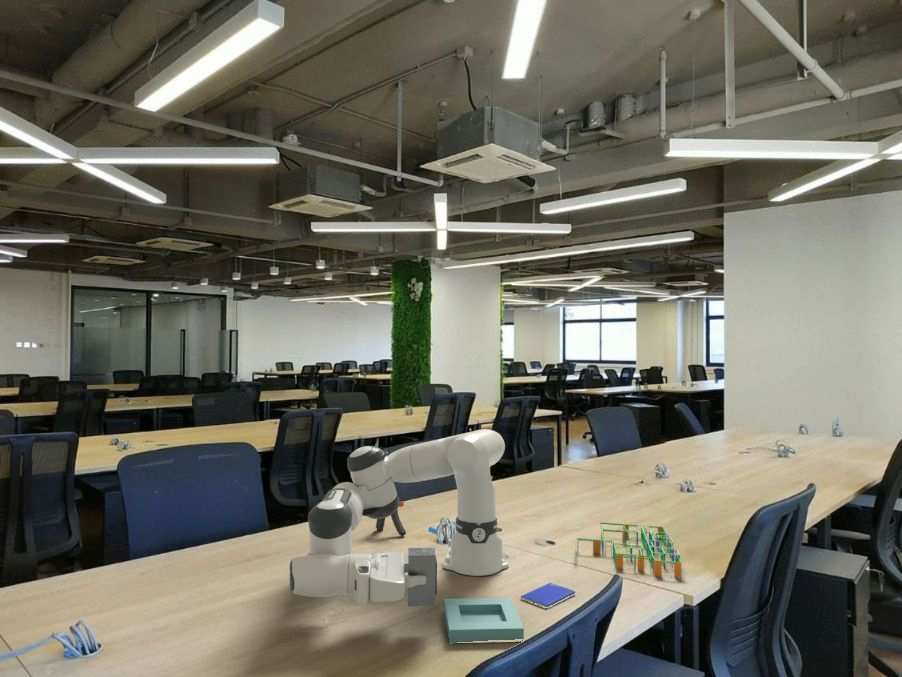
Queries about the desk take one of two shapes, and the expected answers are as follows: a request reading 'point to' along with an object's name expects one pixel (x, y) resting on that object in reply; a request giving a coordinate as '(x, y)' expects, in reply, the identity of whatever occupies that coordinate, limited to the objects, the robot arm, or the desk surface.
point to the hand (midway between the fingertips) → (425, 573)
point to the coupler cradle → (482, 620)
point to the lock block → (422, 564)
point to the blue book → (547, 595)
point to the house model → (654, 563)
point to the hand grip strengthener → (395, 520)
